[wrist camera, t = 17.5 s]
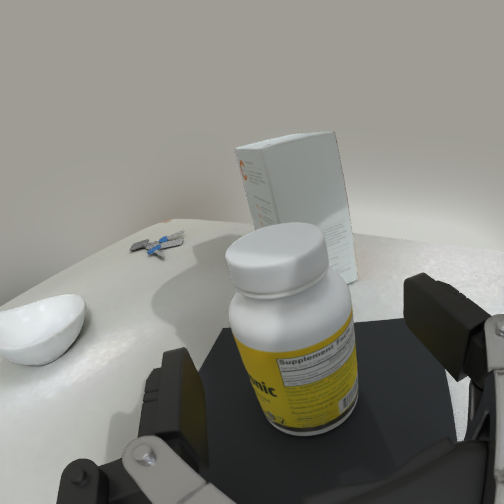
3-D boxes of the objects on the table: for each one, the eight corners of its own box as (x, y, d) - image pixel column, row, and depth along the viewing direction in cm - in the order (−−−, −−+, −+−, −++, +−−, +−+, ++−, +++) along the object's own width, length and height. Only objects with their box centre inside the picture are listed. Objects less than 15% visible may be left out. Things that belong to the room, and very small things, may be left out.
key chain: (125, 251, 53) (123, 246, 53) (161, 232, 58) (160, 228, 58) (163, 260, 44) (161, 255, 43) (206, 236, 49) (204, 231, 48)
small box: (359, 280, 27) (337, 129, 22) (295, 307, 26) (258, 147, 21) (318, 252, 34) (293, 132, 29) (264, 272, 33) (231, 147, 28)
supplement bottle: (256, 382, 19) (207, 237, 15) (339, 357, 19) (316, 206, 15) (272, 452, 14) (208, 291, 10) (373, 418, 14) (368, 244, 10)
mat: (430, 319, 20) (431, 314, 19) (459, 506, 8) (461, 503, 7) (224, 331, 25) (223, 327, 25) (141, 479, 13) (138, 476, 13)
